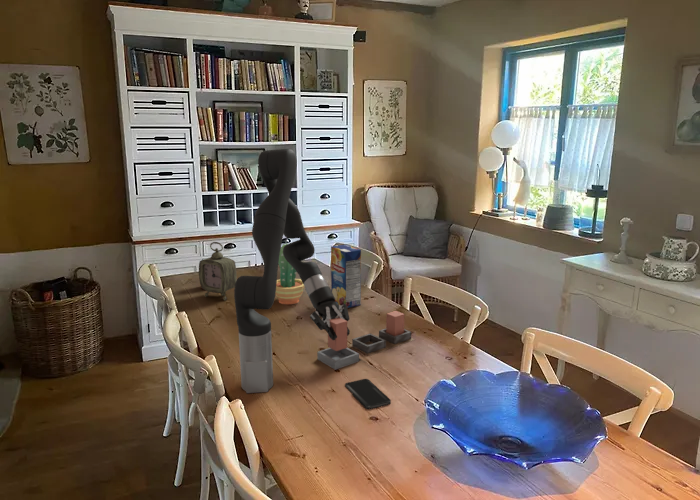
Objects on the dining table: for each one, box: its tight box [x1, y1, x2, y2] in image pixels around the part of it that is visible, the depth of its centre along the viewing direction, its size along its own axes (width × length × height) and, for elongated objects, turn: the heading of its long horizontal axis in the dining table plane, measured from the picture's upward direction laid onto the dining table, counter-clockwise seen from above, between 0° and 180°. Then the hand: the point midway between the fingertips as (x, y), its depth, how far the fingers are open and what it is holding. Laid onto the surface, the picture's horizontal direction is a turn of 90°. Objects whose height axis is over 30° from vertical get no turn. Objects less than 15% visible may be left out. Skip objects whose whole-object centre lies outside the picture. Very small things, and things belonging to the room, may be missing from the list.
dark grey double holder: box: [348, 328, 416, 357], centre depth 183 cm, size 21×11×4 cm, turn 128°
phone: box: [344, 378, 392, 410], centre depth 151 cm, size 8×1×15 cm
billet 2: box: [385, 310, 405, 336], centre depth 186 cm, size 4×4×9 cm
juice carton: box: [330, 244, 362, 309], centre depth 225 cm, size 12×8×24 cm, turn 32°
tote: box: [317, 347, 360, 371], centre depth 172 cm, size 10×10×3 cm
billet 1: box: [327, 318, 348, 351], centre depth 170 cm, size 4×4×9 cm
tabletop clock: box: [198, 241, 238, 301], centre depth 233 cm, size 14×9×25 cm, turn 62°
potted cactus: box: [275, 243, 305, 305], centre depth 227 cm, size 15×15×25 cm
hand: (341, 336), depth 168 cm, fingers closed on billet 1, 4 cm apart
